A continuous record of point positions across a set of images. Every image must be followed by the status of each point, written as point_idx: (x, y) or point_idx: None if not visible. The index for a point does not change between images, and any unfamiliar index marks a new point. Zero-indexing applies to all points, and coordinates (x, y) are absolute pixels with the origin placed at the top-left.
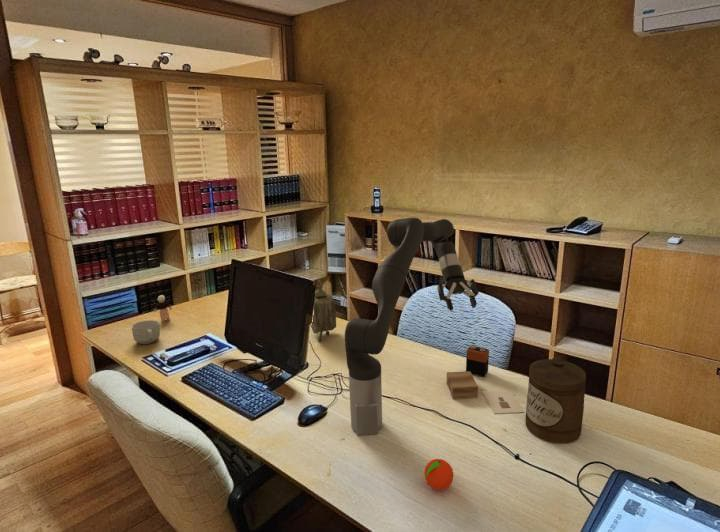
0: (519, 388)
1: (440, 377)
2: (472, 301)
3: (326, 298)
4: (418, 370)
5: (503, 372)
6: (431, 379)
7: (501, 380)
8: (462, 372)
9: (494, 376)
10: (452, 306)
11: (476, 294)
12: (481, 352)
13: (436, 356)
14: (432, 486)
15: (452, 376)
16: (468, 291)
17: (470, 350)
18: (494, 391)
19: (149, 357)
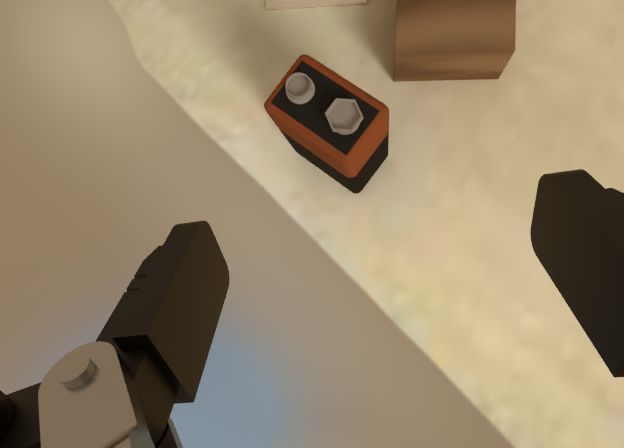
0: (227, 28)
1: (515, 126)
2: (185, 276)
3: None
4: None
5: (235, 144)
6: (563, 112)
7: (266, 85)
8: (435, 45)
9: None
10: (567, 185)
11: (16, 396)
12: (317, 64)
13: (491, 334)
14: None
15: (494, 11)
16: (120, 439)
17: (370, 96)
18: (322, 4)
19: None
